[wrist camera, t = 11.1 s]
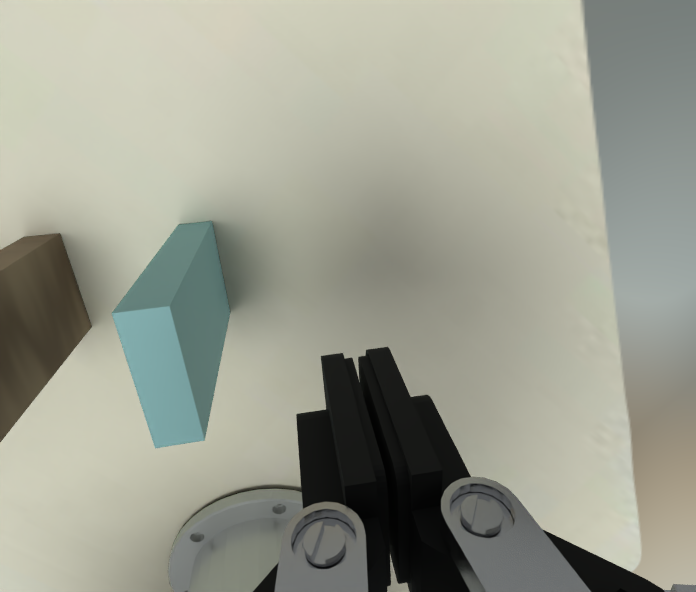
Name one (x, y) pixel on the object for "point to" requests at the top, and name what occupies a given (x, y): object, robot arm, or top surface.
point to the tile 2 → (35, 320)
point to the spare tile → (176, 334)
